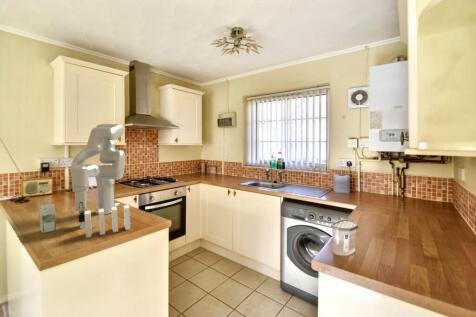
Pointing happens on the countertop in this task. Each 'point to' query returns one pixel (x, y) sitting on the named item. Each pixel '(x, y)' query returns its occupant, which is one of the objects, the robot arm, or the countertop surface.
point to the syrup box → (47, 217)
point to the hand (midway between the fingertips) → (82, 219)
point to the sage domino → (82, 223)
